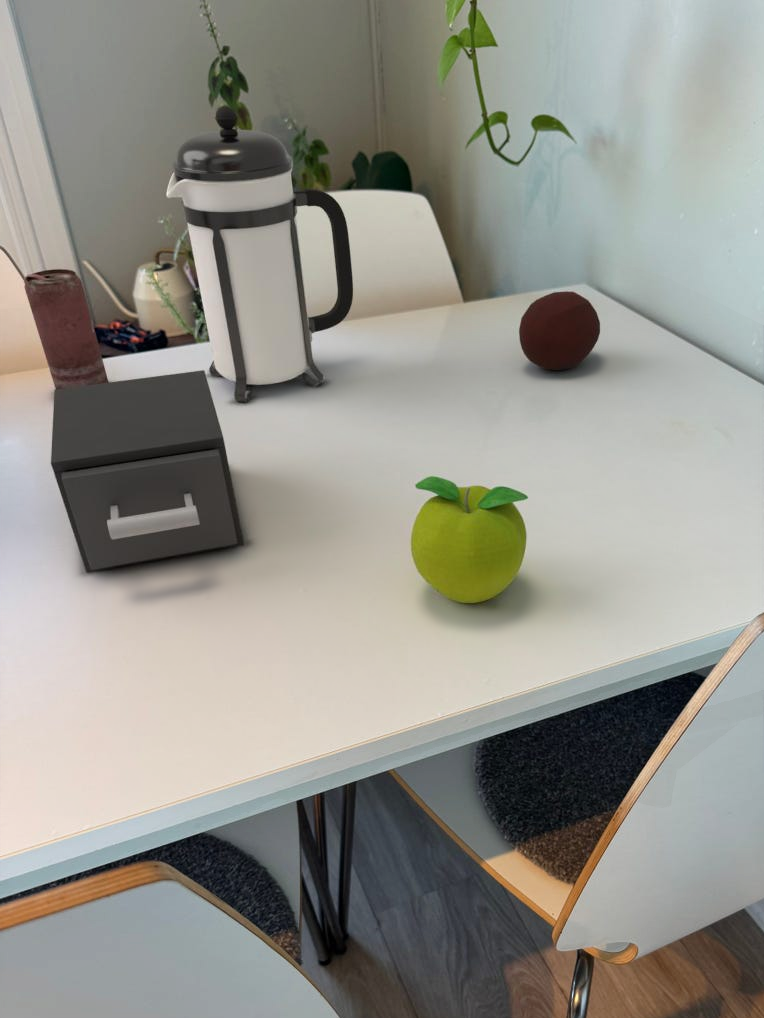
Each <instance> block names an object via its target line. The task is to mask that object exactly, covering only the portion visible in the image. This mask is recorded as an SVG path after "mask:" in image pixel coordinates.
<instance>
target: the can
mask: <svg viewBox="0 0 764 1018" xmlns="http://www.w3.org/2000/svg"><path fill="white" fill-rule="evenodd" d="M23 284H24V291H25V294H26V297H27V301H28V303H29V307H30V310H31V313H32V316H33V320H34V323H35V327H36V329H37V333H38V337H39V340H40V343H41V346H42V349H43V352H44V356H45V359H46V363H47V365H48V369H49V372H50V376H51V379H52V382H53V385H54V390H55V389H63V388H71V387H78V386H86V385H94V384H101V383H109V382H110V381H109V379H108V374H107V371H106V368H105V363H104V360H103V357H102V353H101V349H100V345H99V341H98V338H97V334H96V331H95V327H94V323H93V319H92V316H91V311H90V308H89V304H88V300H87V296H86V293H85V289H84V286H83V285H84V284H83V282H82V279H81V278H80V277H79V276H78V274H77V272H76V271H74V270H73V269H72V270H71V269H65V268H64V269H63V268H57V269H47V270H46V269H45V270H41V271H37V272H34V273H31V274H29V273H28V274H27V275H25V277H24V279H23Z"/></svg>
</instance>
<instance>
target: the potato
mask: <svg viewBox="0 0 764 1018" xmlns="http://www.w3.org/2000/svg"><path fill="white" fill-rule="evenodd" d="M518 334H519V335H518V337H519V344H520V348H521V350H522V352H523V354H524V356H525V357H526V358H527V359H528V361H529V362H530V363H532V364H534V365H536V366H538V367H539V368H542V369H545V370H550V371H562V370H568V369H570V368H574V367H575V366H577V365H578V364H580V363H581V362H582V361H584V359H586V358H587V357H588V356H589V355H590V353H592V350H593V349H594V348H595V346H596V345H597V343H598V341H599V337H600V334H601V322H600V318H599V316H598V312H597V310H596V309H595V308H594V306H593V305H592V303H591V302H590V301H589V299H587V298H585V297H584V296H582V295H580V294H579V293H577V292H575V291H566V290H565V291H553V292H552V293H548V294H546V295H544V296H542V297H540V298H537V299H536V300H534V301H532V302H531V303H530V304H529V306H528V307H527V309H526V310H525V312H524V313H523V315H522V317H521V318H520V324H519V328H518Z"/></svg>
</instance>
